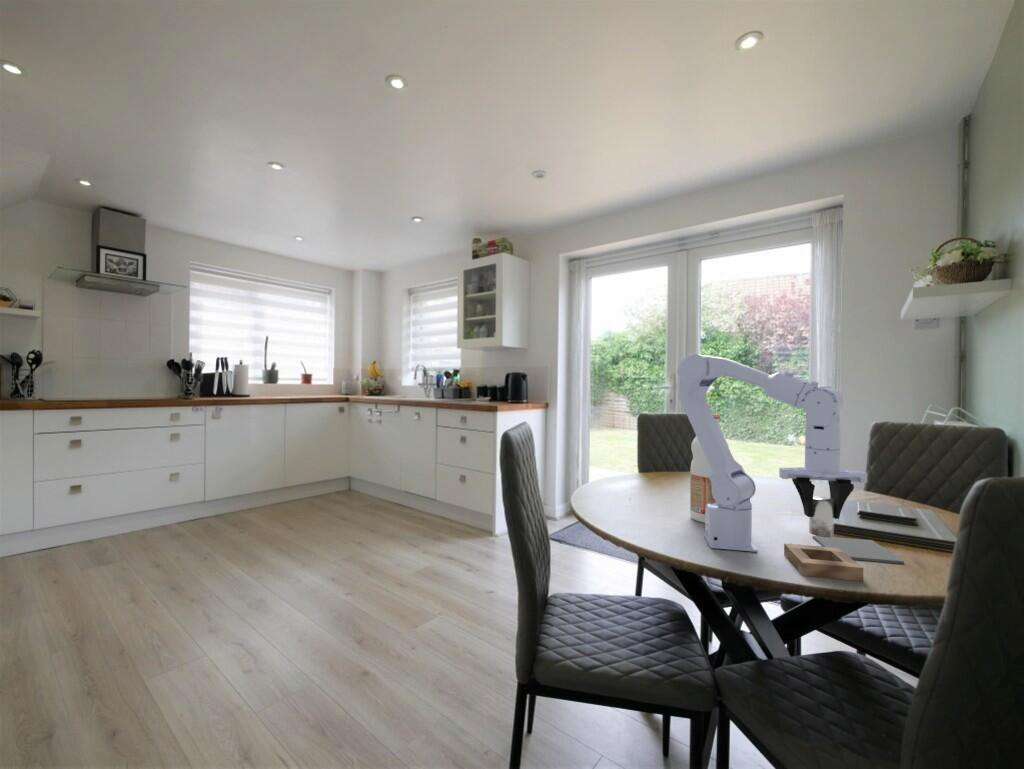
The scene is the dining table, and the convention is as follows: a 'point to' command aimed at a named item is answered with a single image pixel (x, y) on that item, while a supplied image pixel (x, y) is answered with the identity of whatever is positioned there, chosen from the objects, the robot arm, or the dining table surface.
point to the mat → (859, 549)
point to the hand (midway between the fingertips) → (821, 516)
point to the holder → (823, 562)
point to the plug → (822, 517)
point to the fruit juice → (700, 480)
